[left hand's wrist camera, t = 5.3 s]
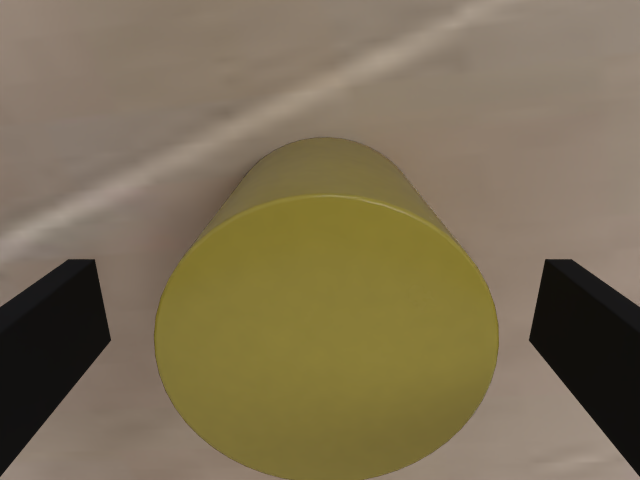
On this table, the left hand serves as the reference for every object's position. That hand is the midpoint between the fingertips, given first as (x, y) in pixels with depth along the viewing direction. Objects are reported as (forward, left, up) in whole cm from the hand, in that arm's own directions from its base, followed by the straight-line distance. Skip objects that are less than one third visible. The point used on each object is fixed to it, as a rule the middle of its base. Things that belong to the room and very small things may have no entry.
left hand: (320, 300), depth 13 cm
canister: (0, 0, -4) cm, 4 cm away
